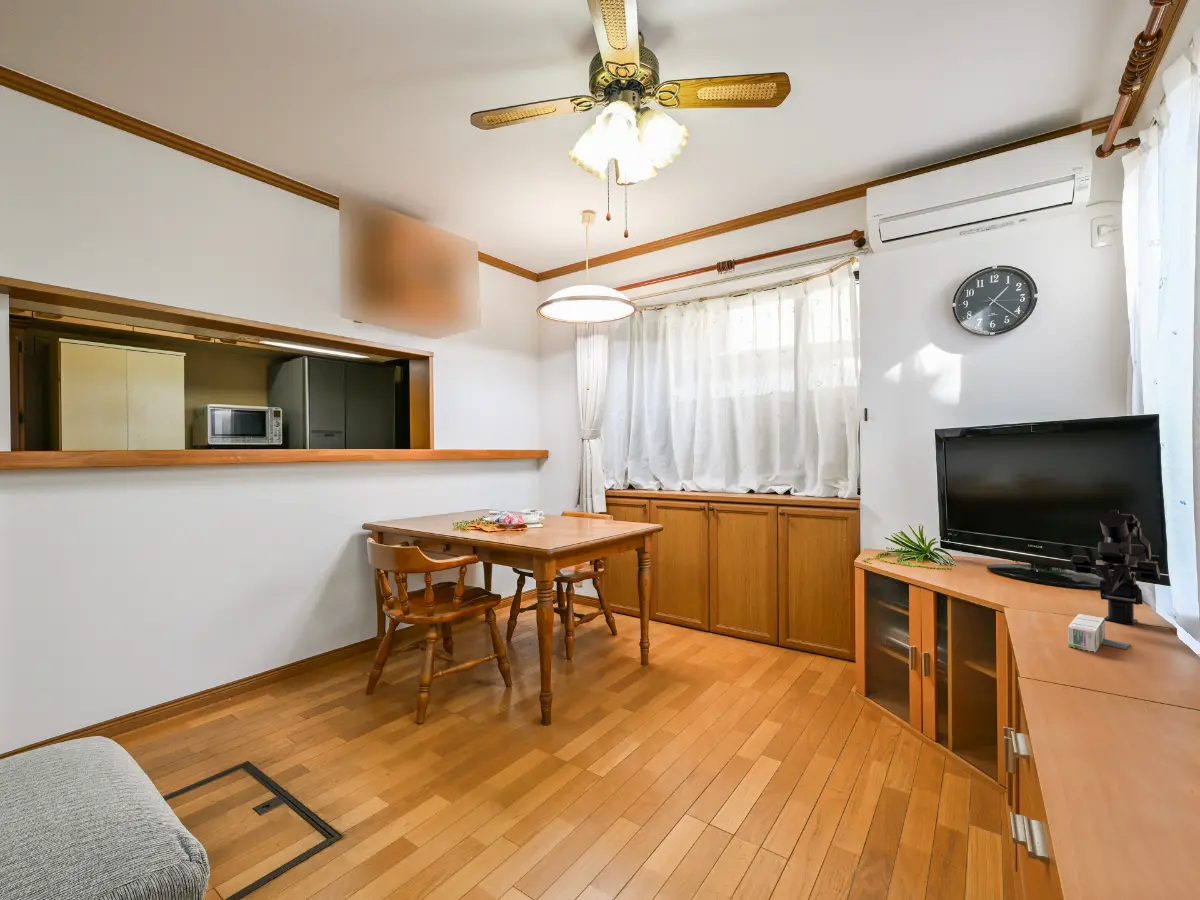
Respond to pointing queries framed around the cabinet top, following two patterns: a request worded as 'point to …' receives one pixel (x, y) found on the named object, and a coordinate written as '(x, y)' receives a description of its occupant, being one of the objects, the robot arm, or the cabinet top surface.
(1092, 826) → the cabinet top surface
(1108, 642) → the slate mat
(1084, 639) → the syrup box
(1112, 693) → the cabinet top surface
